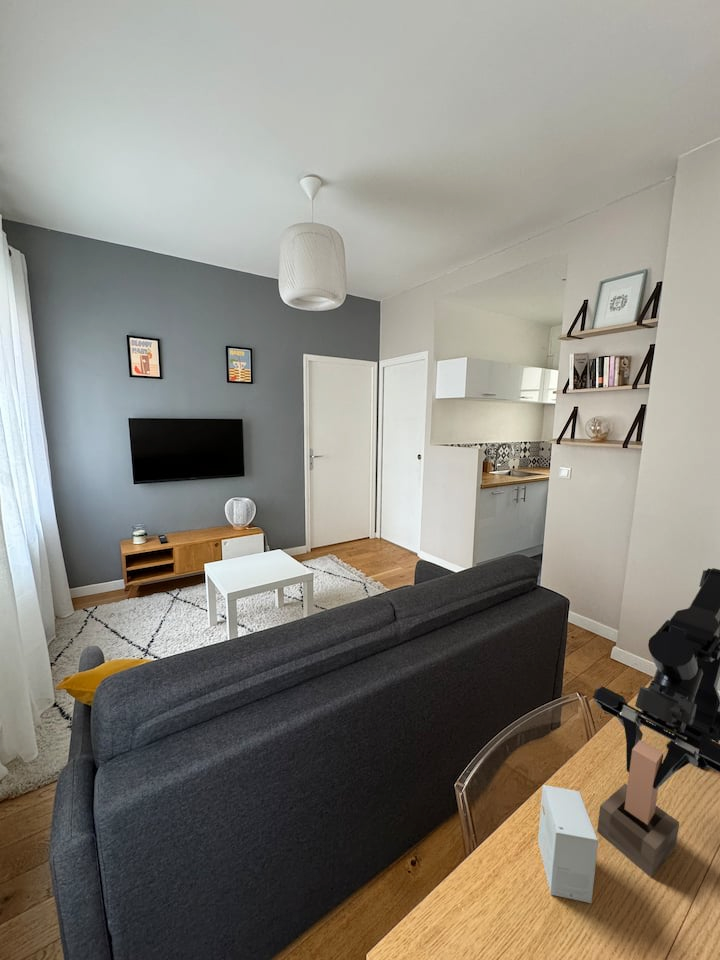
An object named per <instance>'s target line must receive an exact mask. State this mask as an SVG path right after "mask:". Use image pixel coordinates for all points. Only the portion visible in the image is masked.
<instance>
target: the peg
mask: <svg viewBox="0 0 720 960" xmlns="http://www.w3.org/2000/svg"><path fill="white" fill-rule="evenodd" d="M663 758H664V751H662V750H660V749H658V748H655V747H654V746H652V745H650V744H648V743H647V742H645V741H643V740H642V739H641V740H639V741H638V743H637V744H636V745H635V746H634V748H633V749H632V755H631V763H630V770H629V771H630V772H628V779H627V785H628V786H627V793H626V801H625V808H624V809H625V810H626V811H628V812H629V813H631V814H632V815H634V816H635V817H637V818H638V819H639V820H641V821H642V822H644V823H645V824H647V825H648V823H649V821H650V820H651V818H652V817H653V815H654V813H655V808H656V806H657V800H658V793H659V792H658V791H659V788H658V789H654V788H653V784H654V780H655V777H656V775H657V773H658V771H659V769H660V767H661V765H662V763H663V760H664V759H663Z"/></svg>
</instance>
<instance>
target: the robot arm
mask: <svg viewBox="0 0 720 960" xmlns="http://www.w3.org/2000/svg"><path fill="white" fill-rule="evenodd" d="M699 587H700V588H699V590H698V592H697V593H696V595H695V597H694V599H693V600H692V602H691V604H689V605H690V606H689V607H688V608H683V609H680V610H676V612H675V613H674V614H673V615H672V616H671V618H670V619H666V621H664V623H663V624H662V625H661V626H660V628H659V629H658V630H657V631H656V633H655V634H654V635H652V636H651V637H649V640H648V643H647V645H648V650H649V653H650V655H651V657H652V659H653V662H654V665H655V668H656V671H655V674H654V676H653V679H651V682H650V683H649V686H648V687H646V686H640V687H639V690H638V694H637V697H636V701H635V705H634V706H635V707H633V706H631V705H629V704H628V703H627V701H626V699H625V698H624V696H622V695H621V694H620V693H616V692H615V691H612V690H611V689H608V688H607V687H604V686H599V687H597V688H596V689H595V691H594V693H593V696H592V699H593V700H594V702H595V704H596V705H597V707H598V708H599V709H600V710H602V711H604V712H606V713H608V714H609V715H611V716H613V717H615V718H616V719H618V722H620V724H621V726H622V727H623V728H624V733H625V740H626V751H625V752H626V772H627V773H629V772H630V771H629V770H630V763H631V755H632V749H633V748H634V746H635V745H636V744H637V743H638V741H639V740H642V739H643V735H644V734H643V732H642V730H641V727H642V726H644V727H646V728H648V729H649V730H651V731H653V732H655V733H656V734H659V735H661V736H662V737H664V738H666V739H668V740H670V741H668V742H667V744H666V745H665V747H666V748H667V752H666V755H665V757H664V759H663V760H662V765H661V767H660V769H659V771H658V773H657V775H656V777H655V780H654V784H653V788H654V789H658V790H659V788H660V787H661V786H662V785H664V784H665V782H667V780H668V779H670V778H671V777H672V775H674V774H675V773H677V772H678V771H680V770H681V769H682V768H684V767H686V766H688V765H689V764H690V765H693V766H695V767H698V768H700V769H702V770H706V768H707V767H708V768H710V769H712V770H714V771H715V772H718V773H720V692H719V691H718V689H717V688H718V684H719V681H720V569H719V568H714V567H713V568H707V569H705V570H703V571H702V575H701V578H700V582H699Z"/></svg>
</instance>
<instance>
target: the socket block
mask: <svg viewBox="0 0 720 960" xmlns="http://www.w3.org/2000/svg"><path fill="white" fill-rule="evenodd" d="M627 786H628V783H624V784H622V786H620V787H619V788H618V789H617V790H616V791H615V792H614V793H612V794H611V795H610V796H609V797H608V798H607V799H606V800H605V801H604V802H603V803H601V804H600V805H599V813H598V820H597V821H598V822H597V829H596V831H597V833H598V834H600V836H602V837H603V838H604V839H605V840H606V841H608V842H609V843H610V844H611V845H612V846H613V847H614V848H616V850H618V851H619V852H620V853H622V855H624V856H625V857H626V858H627V859H628V860H630V861H631V862H632V863H633V864H635V865H636V866H637V867H638V868H640V870H641V871H643V872H644V873H645V874H646V875H647V876H648V877H650V878H653V876H654V875H655V874H656V873H657V872H658V870H659V869H660V868H661V867H662V866H663V865H664V864H665V862H666V861H667V860H668V858H670V856H671V855H672V854H673V853H674V851H675V850H676V846H677V841H678V835H679V834H678V833H679V828H680V822H679V821H678V820H677V819H676V818H674V817H673V816H671V815H670V814H669V813H667V812H666V811H664V810H663V809H661V808H660V807H658V806H657V805H656V808H655V813H654V815H653V817H652V818H651V820H650V821H649V823H648V825H647V824H645V823H644V822H642V821H641V820H639V819H638V818H637V817H635V816H634V815H632V814H631V813H629V812H628V811H626V810H625V809H624V808H625V801H626V793H627Z"/></svg>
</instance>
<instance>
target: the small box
mask: <svg viewBox="0 0 720 960" xmlns="http://www.w3.org/2000/svg"><path fill="white" fill-rule="evenodd" d="M541 787H542V789H541V802H540V811H539V812H540V813H539V825H538V835H537V837H538V838H537V841H538V845H539V850H540V854H541V858H542V863H543V868H544V872H545V875H546V876H545V877H546V879H547V880H546V881H547V885H548V888H549V894H550V895H551V896H556V897H562V898H565V899H569V900H570V899H571V900H575V901H580V902H584V903H589V904H592V902H593V892H594V884H595V875H596V874H595V872H596V865H597V857H598V846H599V839H598V836H597V834H596V831H595V829H594V826H593V823H592V820H591V818H590V815H589V812H588V810H587V807H586V805H585V803H584V799H583V796H582V795H581V792H580V791H579V790H574V789H568V788H564V787H557V786H551V785H545V784H543V785H542V786H541Z"/></svg>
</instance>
